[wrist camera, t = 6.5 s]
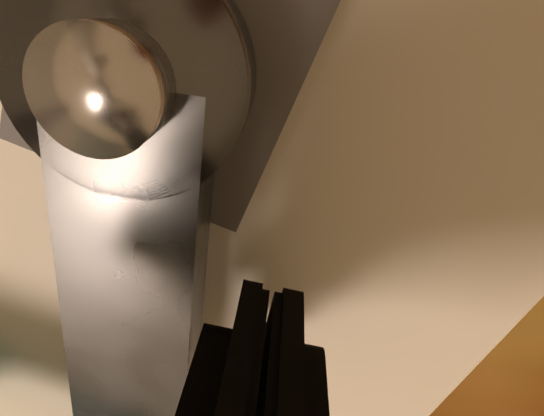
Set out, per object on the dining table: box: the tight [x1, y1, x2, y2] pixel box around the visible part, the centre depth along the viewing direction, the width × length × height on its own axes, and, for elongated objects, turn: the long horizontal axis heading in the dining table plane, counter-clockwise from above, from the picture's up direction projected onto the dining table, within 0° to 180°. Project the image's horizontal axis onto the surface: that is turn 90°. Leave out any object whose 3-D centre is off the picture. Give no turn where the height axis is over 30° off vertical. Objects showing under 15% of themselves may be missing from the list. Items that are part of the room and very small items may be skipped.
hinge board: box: [0, 0, 544, 416], centre depth 11 cm, size 22×18×6 cm
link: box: [0, 0, 257, 416], centre depth 10 cm, size 18×4×3 cm, turn 172°
